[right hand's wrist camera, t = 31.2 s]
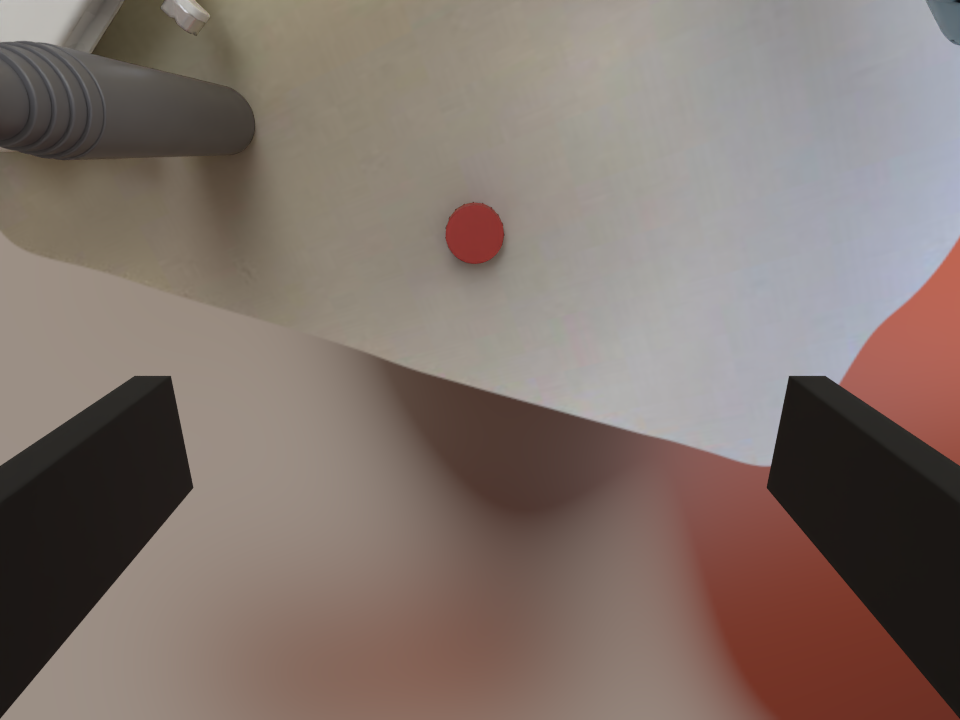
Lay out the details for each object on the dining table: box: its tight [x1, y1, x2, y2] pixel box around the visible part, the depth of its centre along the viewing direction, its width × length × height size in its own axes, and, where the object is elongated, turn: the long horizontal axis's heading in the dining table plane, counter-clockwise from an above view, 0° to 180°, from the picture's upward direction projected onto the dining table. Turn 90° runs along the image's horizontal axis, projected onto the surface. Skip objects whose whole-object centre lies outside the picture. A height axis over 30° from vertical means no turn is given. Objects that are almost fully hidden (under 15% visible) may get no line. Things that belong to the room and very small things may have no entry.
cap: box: [445, 202, 504, 264], centre depth 44 cm, size 4×4×2 cm
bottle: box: [0, 41, 255, 160], centre depth 30 cm, size 5×5×24 cm
